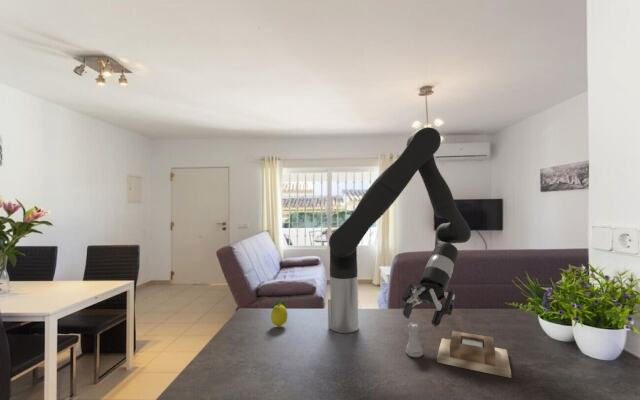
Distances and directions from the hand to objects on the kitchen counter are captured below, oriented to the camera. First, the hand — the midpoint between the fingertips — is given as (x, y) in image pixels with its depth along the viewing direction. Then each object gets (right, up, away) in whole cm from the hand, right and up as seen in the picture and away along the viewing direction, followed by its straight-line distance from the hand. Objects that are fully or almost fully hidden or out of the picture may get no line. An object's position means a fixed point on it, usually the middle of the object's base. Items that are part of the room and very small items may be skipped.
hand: (419, 321), depth 83 cm
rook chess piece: (-2, -8, -2) cm, 9 cm away
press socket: (+12, -8, -5) cm, 15 cm away
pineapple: (-41, -9, +17) cm, 46 cm away
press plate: (+12, -5, -5) cm, 14 cm away
